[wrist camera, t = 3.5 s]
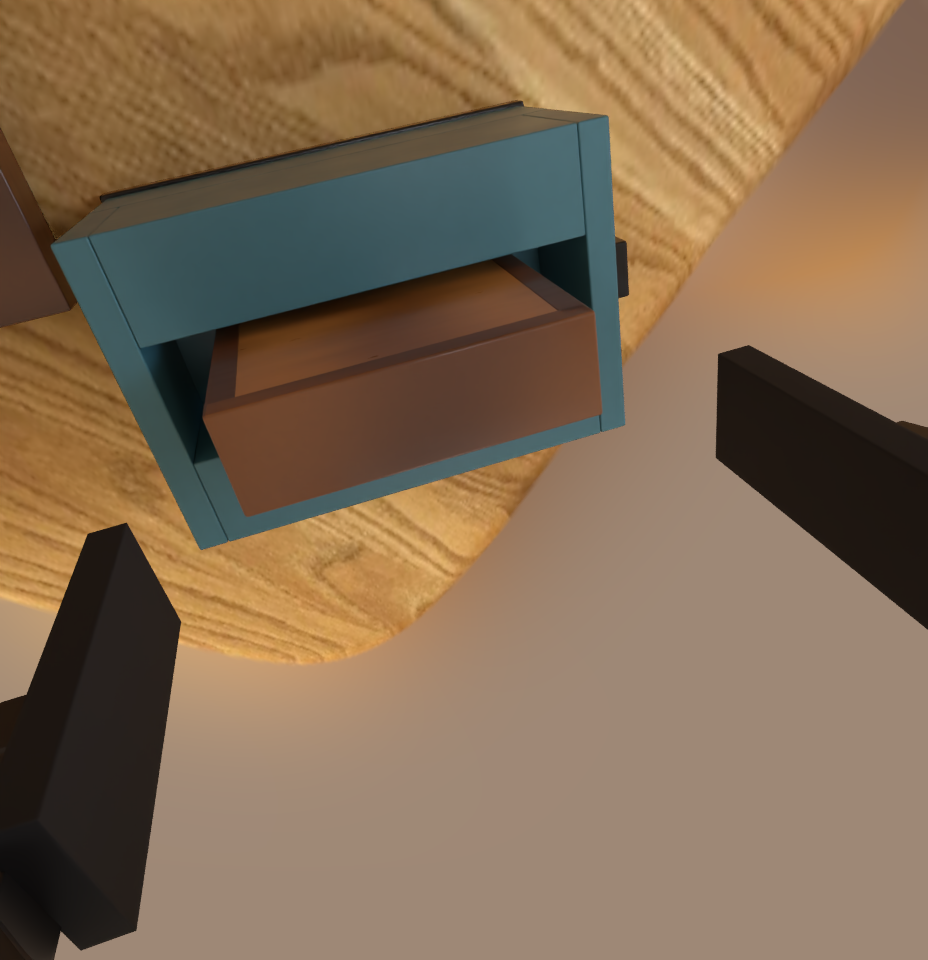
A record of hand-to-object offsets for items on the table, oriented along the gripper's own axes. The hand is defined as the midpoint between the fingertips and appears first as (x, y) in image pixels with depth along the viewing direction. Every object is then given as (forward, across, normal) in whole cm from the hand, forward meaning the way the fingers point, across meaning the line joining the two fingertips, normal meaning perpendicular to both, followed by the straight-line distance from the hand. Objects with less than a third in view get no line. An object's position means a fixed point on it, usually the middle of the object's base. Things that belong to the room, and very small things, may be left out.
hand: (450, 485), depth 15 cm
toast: (+13, 0, 0) cm, 13 cm away
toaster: (+17, 0, 0) cm, 17 cm away
